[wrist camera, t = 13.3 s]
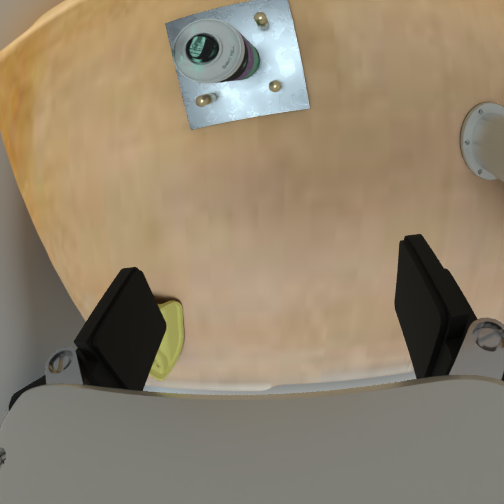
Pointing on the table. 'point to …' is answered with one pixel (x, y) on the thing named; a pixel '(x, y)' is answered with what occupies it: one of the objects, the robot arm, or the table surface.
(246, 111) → the post plate
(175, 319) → the plastic component
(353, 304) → the table surface
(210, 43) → the spray can
